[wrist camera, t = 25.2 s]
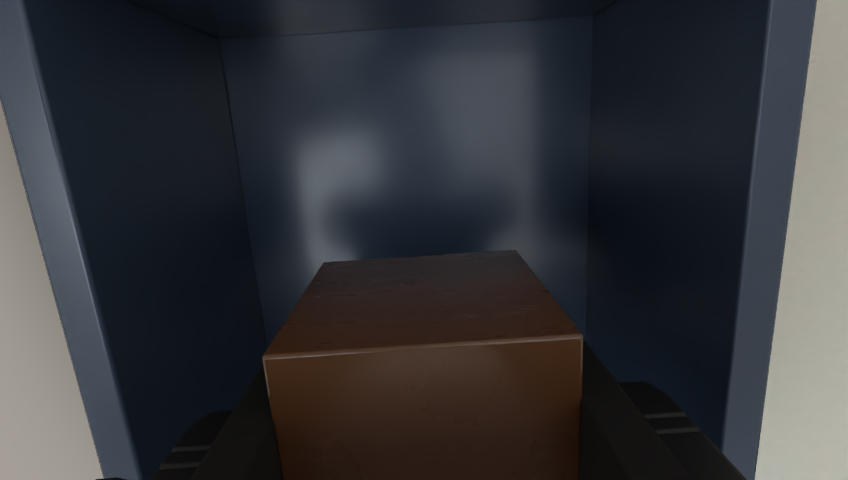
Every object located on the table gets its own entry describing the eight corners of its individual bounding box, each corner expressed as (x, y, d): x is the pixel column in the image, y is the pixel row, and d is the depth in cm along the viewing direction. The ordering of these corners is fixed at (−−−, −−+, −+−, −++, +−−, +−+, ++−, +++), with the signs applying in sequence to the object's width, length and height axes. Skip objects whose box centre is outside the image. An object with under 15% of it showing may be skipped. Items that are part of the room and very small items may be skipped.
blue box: (200, 20, 16) (-59, -103, 7) (608, -7, 16) (839, -160, 7) (279, 497, 20) (181, 771, 12) (593, 477, 20) (722, 734, 12)
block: (322, 261, 12) (259, 356, 7) (516, 248, 12) (584, 334, 7) (343, 430, 13) (301, 608, 8) (519, 418, 13) (579, 589, 8)
